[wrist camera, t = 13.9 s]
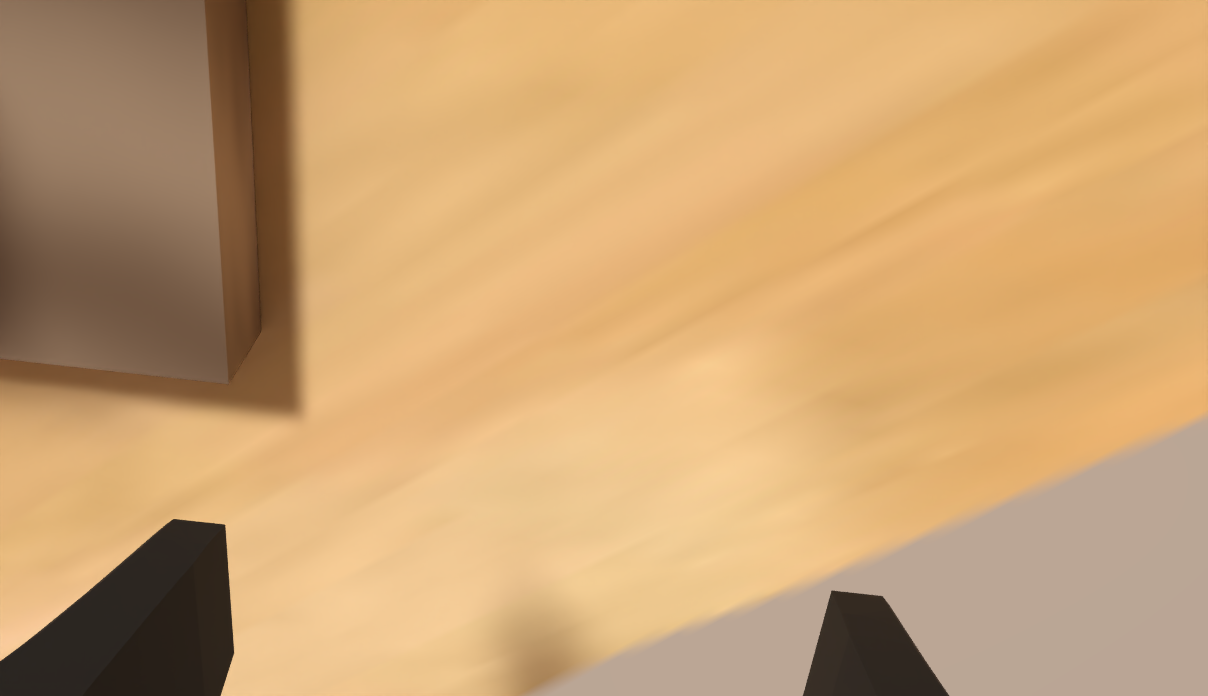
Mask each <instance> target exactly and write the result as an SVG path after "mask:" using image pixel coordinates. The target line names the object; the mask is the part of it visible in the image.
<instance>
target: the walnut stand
mask: <svg viewBox="0 0 1208 696" xmlns="http://www.w3.org/2000/svg"><path fill="white" fill-rule="evenodd" d="M260 332H261V319H260V297H259V275H258V253H257V231H256V209H255V187H254V165H253V143H252V121H251V99H250V77H249V55H248V33H247V11H246V0H0V359H7V360H16V361H25V362H34V363H43V364H52V365H61V366H70V367H79V368H87V369H96V370H105V371H114V372H123V373H132V374H141V375H150V376H159V377H168V378H177V379H186V380H195V381H204V382H213V383H222V384H229V383H230V381H231V380H232V378H233V376H234V375H235V373H236V371H237V370H238V368H239V367H240V365H241V363H242V362H243V360H244V358H245V357H246V355H247V354H248V352H249V350H250V349H251V347H252V345H253V344H254V342H255V341H256V339H257V337H258V336H259V334H260Z"/></svg>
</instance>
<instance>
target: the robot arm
mask: <svg viewBox="0 0 1208 696" xmlns="http://www.w3.org/2000/svg"><path fill="white" fill-rule="evenodd" d="M233 655H234V644H233V630H232V616H231V601H230V587H229V573H228V558H227V544H226V530H225V525H223V524H214V523H205V522H196V521H187V520H177V519H173V520H172V521H170V522H169V523H168V524H166V525H165V526H164V527H163V528H161V529H160V530H159V531H158V532H157V533H155V534H154V535H153V536H152V537H151V538H150V539H148V540H147V541H146V542H145V543H144V544H143V545H141V546H140V547H139V548H138V549H137V550H136V551H135V552H133V553H132V554H131V555H130V556H129V557H128V558H127V559H125V560H124V561H123V562H122V563H121V564H120V565H118V566H117V567H116V568H115V569H114V570H113V571H112V572H110V573H109V574H108V575H107V576H106V577H105V578H103V579H102V580H101V581H100V582H99V583H97V584H96V585H95V586H94V587H93V588H92V589H90V590H89V591H88V592H87V593H86V594H85V595H83V596H82V597H81V598H80V599H78V600H77V601H76V602H75V603H74V604H72V605H71V606H70V607H69V608H67V609H66V610H65V611H64V612H63V613H61V614H60V615H59V616H58V617H56V618H55V619H54V620H53V621H52V622H50V623H49V624H48V625H47V626H45V627H44V628H43V629H42V630H41V631H39V632H38V633H37V634H36V635H34V636H33V637H32V638H31V639H29V640H28V641H27V642H25V643H24V644H23V645H22V646H20V647H19V648H18V649H16V650H15V651H14V652H12V653H11V654H10V655H8V656H7V657H5V658H4V659H3V660H1V661H0V696H221V693H222V689H223V686H224V683H225V680H226V677H227V674H228V670H229V667H230V664H231V661H232V658H233ZM803 696H949V695H948V693H947V692H946V690H945V689H944V688H943V686H942V685H941V683H940V682H939V680H938V679H937V677H936V676H935V674H934V673H933V671H932V670H931V668H930V667H929V665H928V664H927V662H926V661H925V660H924V658H923V656H922V655H921V653H920V652H919V650H918V649H917V647H916V646H915V644H914V643H913V641H912V639H911V638H910V637H909V635H908V633H907V632H906V630H905V629H904V628H903V626H902V624H901V623H900V621H899V619H898V618H897V616H896V615H895V613H894V612H893V610H892V609H891V607H890V606H889V604H888V603H887V602H886V600H885V599H884V598H883V596H875V595H867V594H857V593H848V592H838V591H831V595H830V599H829V602H828V606H827V609H826V613H825V617H824V621H823V624H822V628H821V632H820V635H819V639H818V643H817V647H816V650H815V654H814V657H813V661H812V665H811V669H810V673H809V676H808V679H807V683H806V687H805V691H804V694H803Z"/></svg>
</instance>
